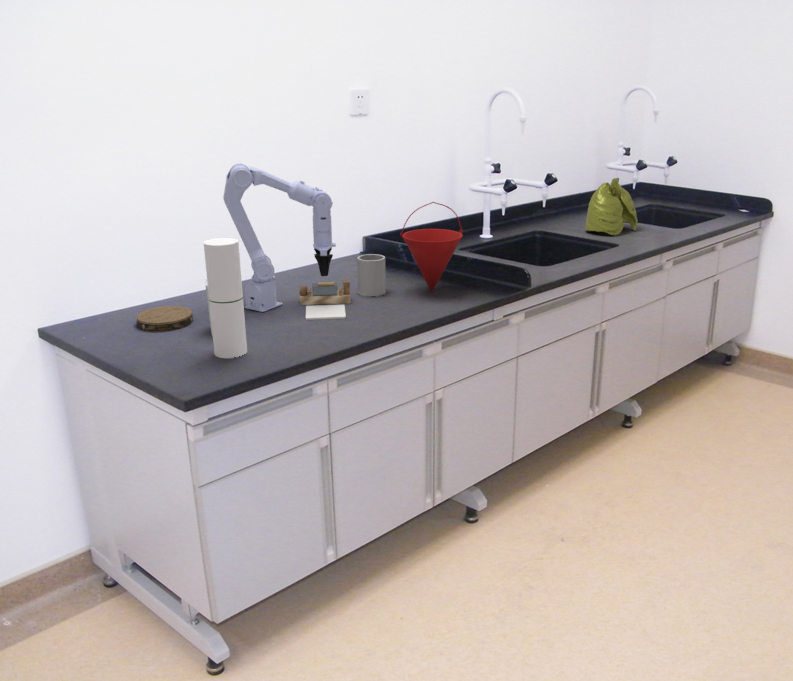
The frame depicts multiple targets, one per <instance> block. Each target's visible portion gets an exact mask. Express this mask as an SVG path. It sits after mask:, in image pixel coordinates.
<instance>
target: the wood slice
mask: <svg viewBox="0 0 793 681" xmlns="http://www.w3.org/2000/svg"><path fill="white" fill-rule="evenodd" d="M193 317H194V316H193V311H192V309H190V308H189V307H186V306H178V305H166V306H165V305H164V306H157V307H151V308H148V309H145V310H142V311H140V312H138V314H137V315H136V326H137V328H138V327H139V330H141V329H142V330H141V331H144V330H145V332H152V333H155V332H156V333H163V332H171V331H176V330H181V329H184V328H187V327H188V326H191V324H192V323H193V322H194V320H193Z"/></svg>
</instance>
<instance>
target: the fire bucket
mask: <svg viewBox="0 0 793 681" xmlns="http://www.w3.org/2000/svg"><path fill="white" fill-rule="evenodd" d="M432 204H436V205H439V206H443V207H446V208H447V209H449V210H451V211H452V212H453V214H455V216H456V218H457V220H458V224H459V231H455V230H451V229H445V228H443V229H442V228H421V229H420V228H419V229H413V230H410V231H405V232H404V230H405V226H406V225H407V222H408V221H409V219H410V218H411V216H412V215H413V214H414V213H416V212H417V211H418V210H420V209H422V208H423V207H426V206H428V205H432ZM461 225H462V224H461V222H460V218H459V216H458V215H457V213H456V212H455V211H454V210H453V209H452V208H450V207H449V206H447V205H445V204H442V203H439V202H438V203H437V202H435V201H431V202H429V203H426V204H424V205H422V206H419V207H418V208H416V209H415V210H414V211H413V212H411V214H410V215H409V216H407V219H406V221H405V223H404V225H403V227H402V231H401V232H400V234H399V235H400V237H401V238H402V240H403V241H404V243H406V246H407V247H408V249H409V251H410V254H411V255H412V257H413V259H414V261H415V264H416V265H417V267H418V269H419V271H420V273H421V276H423V279H424V281H425V283H426V285H427V286H428V288H429V290H430V292H433V291H434V290H435V288H436V286H438V284H439V281H440V279H441V277H442V276H443V273H444V271H445V270H446V268H447V266H448V264H449V262H450V260H451V258H452V257H453V254H454V252H455V251H456V249H457V247H458V245H459V243H460V242H461V240H462V238H463V236H464V235H463V227H462V226H461ZM403 232H404V233H403Z"/></svg>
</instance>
